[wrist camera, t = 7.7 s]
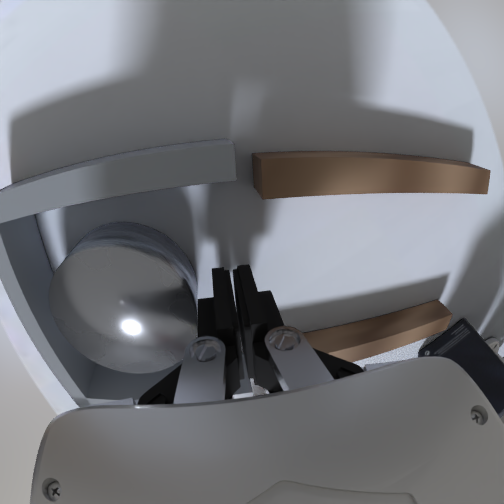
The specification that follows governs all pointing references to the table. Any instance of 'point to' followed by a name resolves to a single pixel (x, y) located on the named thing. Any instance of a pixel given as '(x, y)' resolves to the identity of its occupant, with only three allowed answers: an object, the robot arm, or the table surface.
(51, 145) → the table surface
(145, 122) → the table surface
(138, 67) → the table surface
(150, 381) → the grey u-shaped frame
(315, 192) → the walnut slot
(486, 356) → the small box
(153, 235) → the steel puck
